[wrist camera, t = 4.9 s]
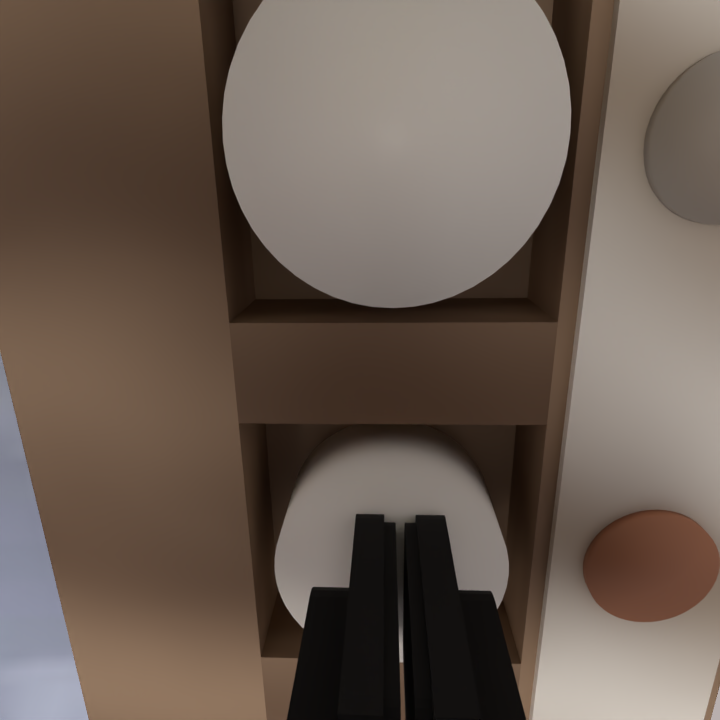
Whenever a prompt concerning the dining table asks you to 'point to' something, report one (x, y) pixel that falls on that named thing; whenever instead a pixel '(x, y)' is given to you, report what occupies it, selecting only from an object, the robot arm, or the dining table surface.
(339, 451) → the button
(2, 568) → the dining table surface
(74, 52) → the button board
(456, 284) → the button
